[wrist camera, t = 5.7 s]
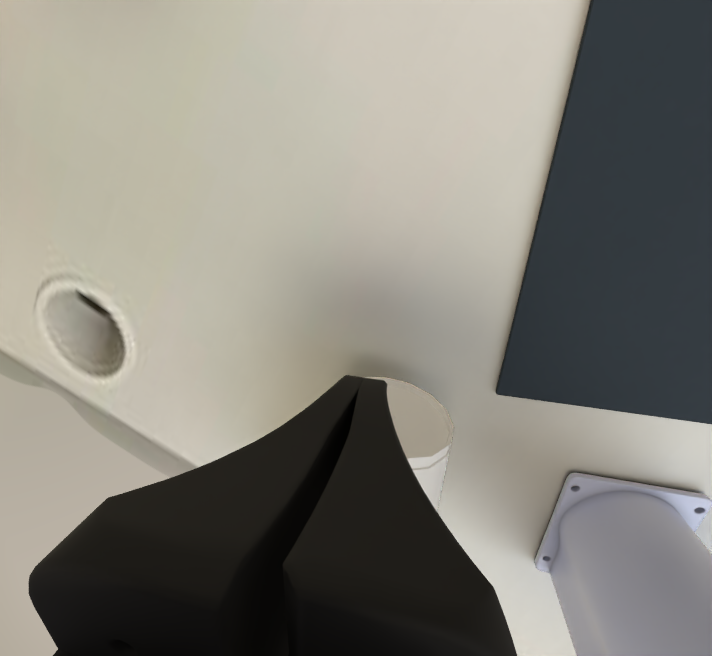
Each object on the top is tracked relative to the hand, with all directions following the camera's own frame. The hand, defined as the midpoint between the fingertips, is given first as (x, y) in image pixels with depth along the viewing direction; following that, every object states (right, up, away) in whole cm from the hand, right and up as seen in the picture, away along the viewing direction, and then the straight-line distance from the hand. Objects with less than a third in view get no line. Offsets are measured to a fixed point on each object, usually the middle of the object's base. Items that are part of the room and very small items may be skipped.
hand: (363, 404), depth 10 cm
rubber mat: (+15, +7, +5) cm, 18 cm away
